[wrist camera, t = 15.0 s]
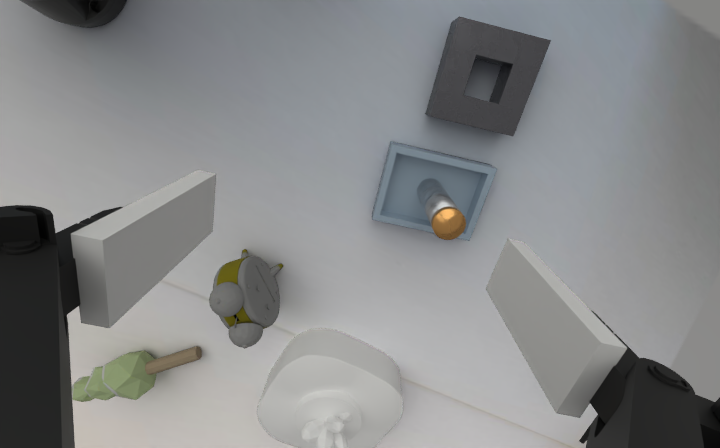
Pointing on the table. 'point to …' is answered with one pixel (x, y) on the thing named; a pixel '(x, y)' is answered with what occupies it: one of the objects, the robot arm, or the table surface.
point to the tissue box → (331, 392)
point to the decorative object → (129, 375)
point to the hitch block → (511, 87)
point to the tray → (416, 164)
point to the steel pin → (441, 210)
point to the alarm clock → (246, 298)
